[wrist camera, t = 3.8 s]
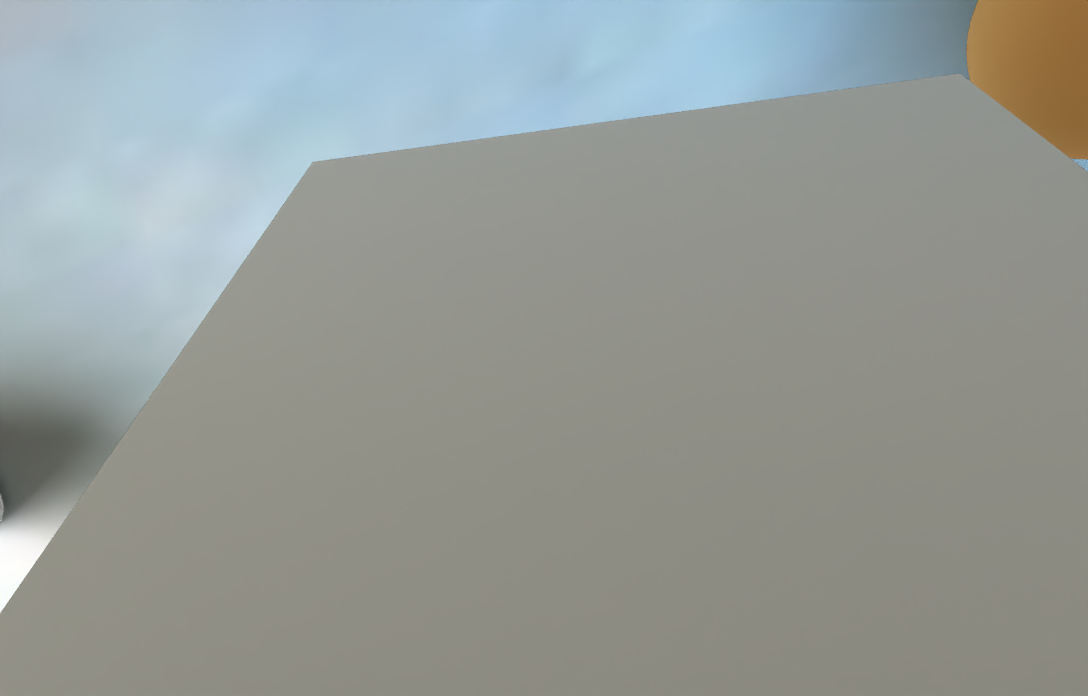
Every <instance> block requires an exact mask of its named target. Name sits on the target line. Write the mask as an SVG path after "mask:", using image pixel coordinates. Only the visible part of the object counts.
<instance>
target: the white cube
mask: <svg viewBox="0 0 1088 696" xmlns="http://www.w3.org/2000/svg"><path fill="white" fill-rule="evenodd" d="M0 696H1088V172H1087V171H1086V170H1085V169H1084V168H1082V167H1081V166H1080V165H1078V164H1077V163H1076V162H1074V161H1073V160H1072V159H1071V158H1069V157H1068V156H1067V155H1065V154H1064V153H1063V152H1061V151H1060V150H1059V149H1058V148H1056V147H1055V146H1054V145H1052V144H1051V143H1050V142H1049V141H1047V140H1046V139H1045V138H1043V137H1042V136H1041V135H1039V134H1038V133H1037V132H1036V131H1034V130H1033V129H1032V128H1030V127H1029V126H1028V125H1026V124H1025V123H1024V122H1023V121H1021V120H1020V119H1019V118H1017V117H1016V116H1015V115H1013V114H1012V113H1011V112H1010V111H1008V110H1007V109H1006V108H1004V107H1003V106H1002V105H1000V104H999V103H998V102H997V101H995V100H994V99H993V98H991V97H990V96H989V95H987V94H986V93H985V92H984V91H982V90H981V89H980V88H978V87H977V86H976V85H974V84H973V83H972V82H971V81H969V80H968V79H967V78H965V77H964V76H963V75H961V74H960V73H959V74H952V75H945V76H937V77H930V78H923V79H915V80H908V81H901V82H893V83H886V84H879V85H872V86H864V87H857V88H850V89H842V90H835V91H828V92H820V93H813V94H806V95H799V96H791V97H784V98H777V99H769V100H762V101H755V102H748V103H740V104H733V105H726V106H718V107H711V108H704V109H696V110H689V111H682V112H675V113H667V114H660V115H653V116H645V117H638V118H631V119H623V120H616V121H609V122H602V123H594V124H587V125H580V126H572V127H565V128H558V129H550V130H543V131H536V132H529V133H521V134H514V135H507V136H499V137H492V138H485V139H478V140H470V141H463V142H456V143H448V144H441V145H434V146H426V147H419V148H412V149H405V150H397V151H390V152H383V153H375V154H368V155H361V156H353V157H346V158H339V159H332V160H324V161H317V162H312V164H311V165H310V167H309V168H308V170H307V171H306V172H305V174H304V175H303V177H302V178H301V180H300V181H299V183H298V184H297V185H296V187H295V188H294V190H293V191H292V193H291V194H290V196H289V197H288V198H287V200H286V201H285V203H284V204H283V206H282V207H281V209H280V210H279V211H278V213H277V214H276V216H275V217H274V219H273V220H272V222H271V223H270V224H269V226H268V227H267V229H266V230H265V232H264V233H263V235H262V236H261V237H260V239H259V240H258V242H257V243H256V245H255V246H254V248H253V249H252V250H251V252H250V253H249V255H248V256H247V258H246V259H245V261H244V262H243V263H242V265H241V266H240V268H239V269H238V271H237V272H236V274H235V275H234V276H233V278H232V279H231V281H230V282H229V284H228V285H227V287H226V288H225V289H224V291H223V292H222V294H221V295H220V297H219V298H218V300H217V301H216V302H215V304H214V305H213V307H212V308H211V310H210V311H209V313H208V314H207V315H206V317H205V318H204V320H203V321H202V323H201V324H200V326H199V327H198V329H197V330H196V331H195V333H194V334H193V336H192V337H191V339H190V340H189V342H188V343H187V344H186V346H185V347H184V349H183V350H182V352H181V353H180V355H179V356H178V357H177V359H176V360H175V362H174V363H173V365H172V366H171V368H170V369H169V370H168V372H167V373H166V375H165V376H164V378H163V379H162V381H161V382H160V383H159V385H158V386H157V388H156V389H155V391H154V392H153V394H152V395H151V396H150V398H149V399H148V401H147V402H146V404H145V405H144V407H143V408H142V409H141V411H140V412H139V414H138V415H137V417H136V418H135V420H134V421H133V422H132V424H131V425H130V427H129V428H128V430H127V431H126V433H125V434H124V435H123V437H122V438H121V440H120V441H119V443H118V444H117V446H116V447H115V448H114V450H113V451H112V453H111V454H110V456H109V457H108V459H107V460H106V461H105V463H104V464H103V466H102V467H101V469H100V470H99V472H98V473H97V474H96V476H95V477H94V479H93V480H92V482H91V483H90V485H89V486H88V487H87V489H86V490H85V492H84V493H83V495H82V496H81V498H80V499H79V500H78V502H77V503H76V505H75V506H74V508H73V509H72V511H71V512H70V513H69V515H68V516H67V518H66V519H65V521H64V522H63V524H62V525H61V526H60V528H59V529H58V531H57V532H56V534H55V535H54V537H53V538H52V539H51V541H50V542H49V544H48V545H47V547H46V548H45V550H44V551H43V552H42V554H41V555H40V557H39V558H38V560H37V561H36V563H35V564H34V565H33V567H32V568H31V570H30V571H29V573H28V574H27V576H26V577H25V578H24V580H23V581H22V583H21V584H20V586H19V587H18V589H17V590H16V591H15V593H14V594H13V596H12V597H11V599H10V600H9V602H8V603H7V604H6V606H5V607H4V609H3V610H2V612H1V613H0Z"/></svg>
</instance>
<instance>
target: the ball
mask: <svg viewBox="0 0 1088 696" xmlns="http://www.w3.org/2000/svg"><path fill="white" fill-rule="evenodd" d="M966 50H967V67H968V73H969V78H970V81H971V82H972V83H973V84H974V85H976V86H977V87H978V88H980V89H981V90H982V91H984V92H985V93H986V94H987V95H989V96H990V97H991V98H993V99H994V100H995V101H997V102H998V103H999V104H1000V105H1002V106H1003V107H1004V108H1006V109H1007V110H1008V111H1010V112H1011V113H1012V114H1013V115H1015V116H1016V117H1017V118H1019V119H1020V120H1021V121H1023V122H1024V123H1025V124H1026V125H1028V126H1029V127H1030V128H1032V129H1033V130H1034V131H1036V132H1037V133H1038V134H1039V135H1041V136H1042V137H1043V138H1045V139H1046V140H1047V141H1049V142H1050V143H1051V144H1052V145H1054V146H1055V147H1056V148H1058V149H1059V150H1060V151H1061V152H1063V153H1064V154H1065V155H1067V156H1068V157H1069V158H1073V159H1088V0H978V1H977V4H976V7H975V10H974V13H973V15H972V18H971V22H970V27H969V31H968V37H967V48H966Z"/></svg>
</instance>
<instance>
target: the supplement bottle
mask: <svg viewBox="0 0 1088 696" xmlns="http://www.w3.org/2000/svg"><path fill="white" fill-rule="evenodd" d="M3 510H4V506H3V499H2V496H1V493H0V522H1V520H2V516H3Z"/></svg>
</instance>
